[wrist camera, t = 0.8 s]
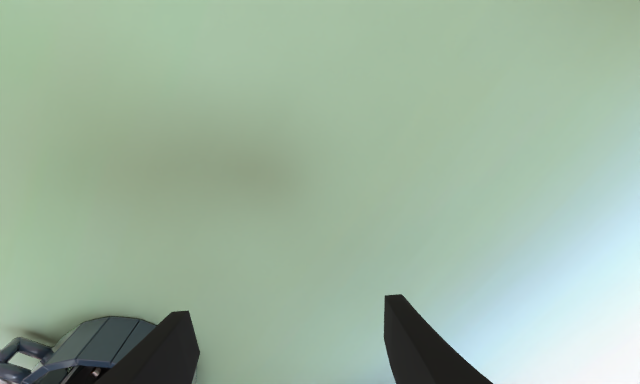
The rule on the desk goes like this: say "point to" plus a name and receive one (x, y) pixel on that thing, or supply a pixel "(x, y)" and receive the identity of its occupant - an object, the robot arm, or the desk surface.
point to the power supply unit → (5, 382)
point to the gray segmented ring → (76, 350)
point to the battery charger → (84, 375)
